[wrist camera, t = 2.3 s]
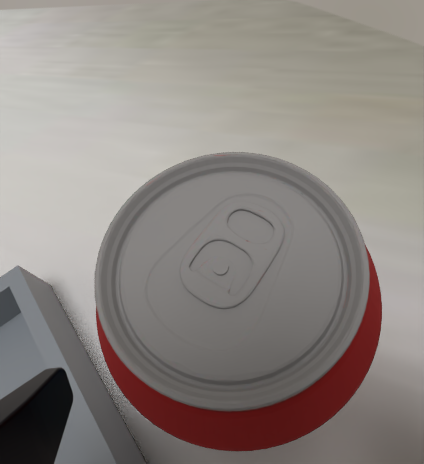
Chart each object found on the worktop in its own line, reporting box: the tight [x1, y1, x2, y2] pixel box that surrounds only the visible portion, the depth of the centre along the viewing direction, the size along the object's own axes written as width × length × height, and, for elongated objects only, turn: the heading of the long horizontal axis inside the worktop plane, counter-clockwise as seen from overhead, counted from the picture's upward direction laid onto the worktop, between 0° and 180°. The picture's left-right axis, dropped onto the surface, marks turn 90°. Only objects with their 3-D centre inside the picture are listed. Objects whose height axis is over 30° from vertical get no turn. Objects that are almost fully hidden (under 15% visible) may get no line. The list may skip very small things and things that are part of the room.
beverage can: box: [95, 152, 382, 451], centre depth 12 cm, size 7×7×12 cm
